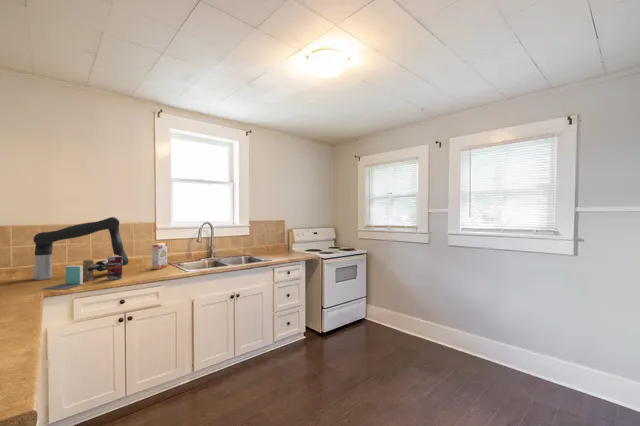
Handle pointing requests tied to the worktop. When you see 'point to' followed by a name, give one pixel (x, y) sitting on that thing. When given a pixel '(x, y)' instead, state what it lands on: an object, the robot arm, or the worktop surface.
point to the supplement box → (114, 267)
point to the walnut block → (87, 274)
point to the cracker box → (159, 255)
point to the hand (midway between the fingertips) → (84, 269)
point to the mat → (63, 286)
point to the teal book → (74, 274)
